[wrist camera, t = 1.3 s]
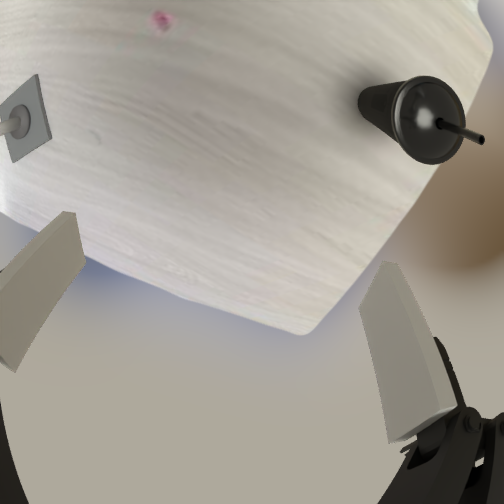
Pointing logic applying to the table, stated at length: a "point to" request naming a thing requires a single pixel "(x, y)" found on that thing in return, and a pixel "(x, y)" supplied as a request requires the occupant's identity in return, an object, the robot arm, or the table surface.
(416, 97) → the drinking cup
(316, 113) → the table surface
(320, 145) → the table surface
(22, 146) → the grey peg stand
